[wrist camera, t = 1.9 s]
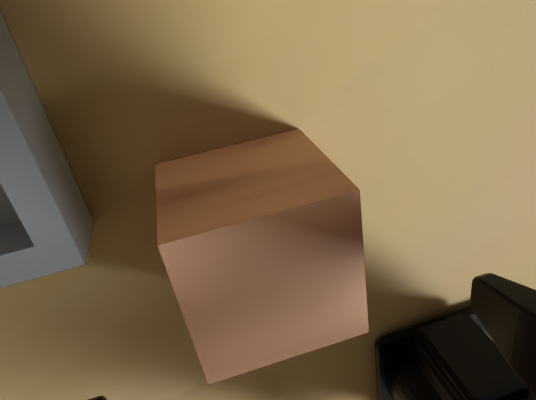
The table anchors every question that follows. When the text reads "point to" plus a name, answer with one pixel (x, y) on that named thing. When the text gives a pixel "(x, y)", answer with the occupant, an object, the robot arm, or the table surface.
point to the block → (262, 251)
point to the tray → (34, 183)
